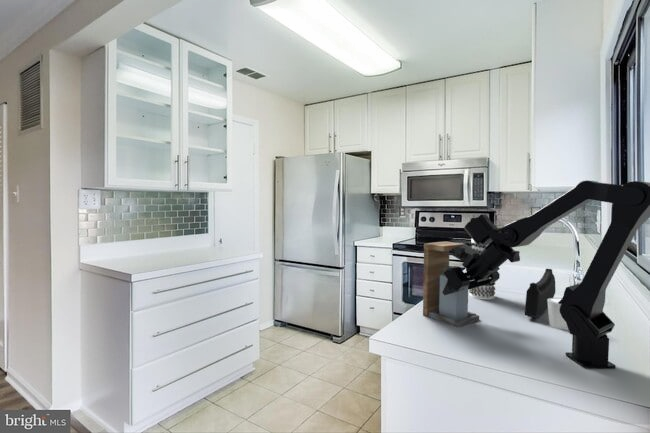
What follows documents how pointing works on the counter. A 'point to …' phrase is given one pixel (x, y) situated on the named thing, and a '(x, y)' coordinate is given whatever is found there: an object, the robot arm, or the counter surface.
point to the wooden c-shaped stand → (438, 281)
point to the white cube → (555, 314)
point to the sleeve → (453, 302)
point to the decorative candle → (486, 290)
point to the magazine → (540, 295)
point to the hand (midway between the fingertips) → (453, 291)
